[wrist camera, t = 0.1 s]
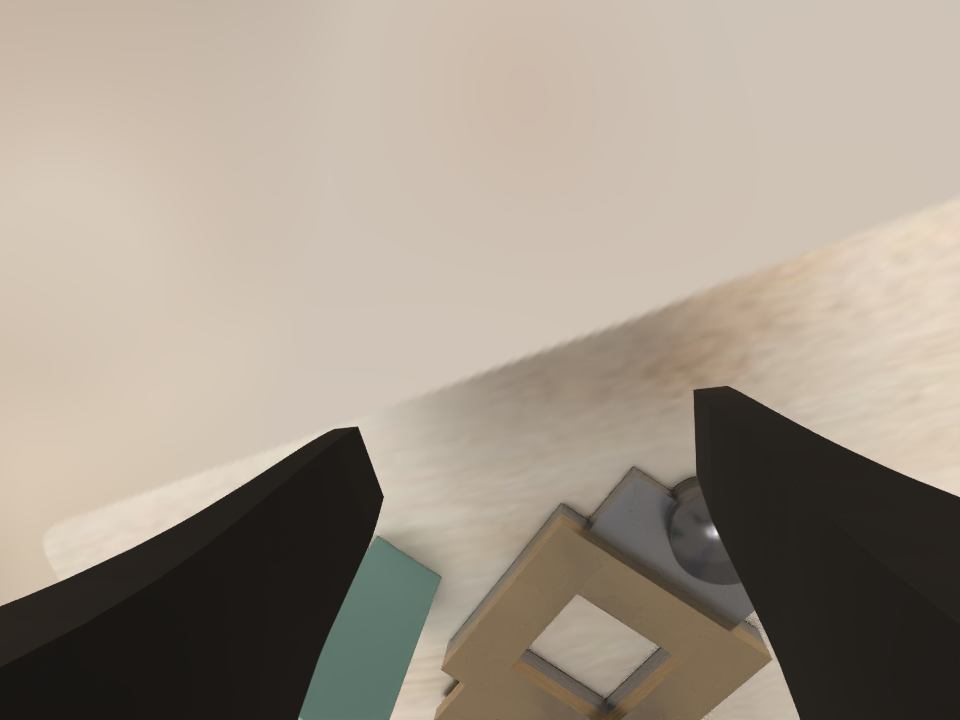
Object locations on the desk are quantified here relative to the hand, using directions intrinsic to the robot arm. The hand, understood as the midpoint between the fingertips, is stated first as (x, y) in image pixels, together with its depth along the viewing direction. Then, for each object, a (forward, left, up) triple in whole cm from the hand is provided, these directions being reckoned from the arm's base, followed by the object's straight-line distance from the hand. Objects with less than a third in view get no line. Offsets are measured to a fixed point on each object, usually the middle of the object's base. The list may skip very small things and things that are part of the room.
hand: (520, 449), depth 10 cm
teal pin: (-16, -1, -11) cm, 19 cm away
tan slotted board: (-14, -11, -11) cm, 21 cm away
